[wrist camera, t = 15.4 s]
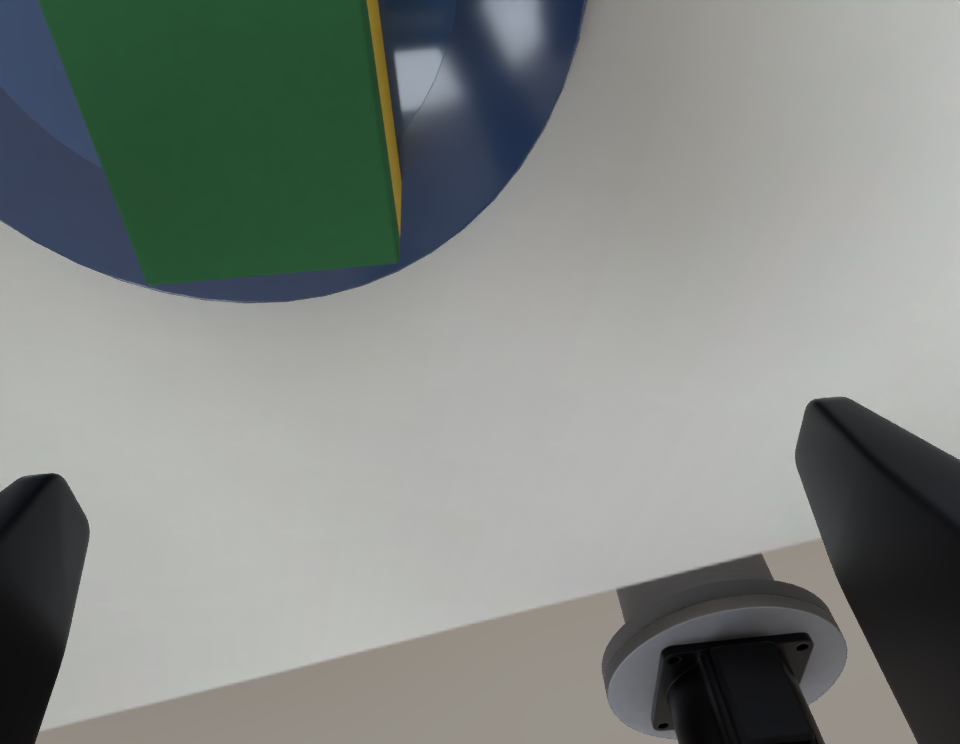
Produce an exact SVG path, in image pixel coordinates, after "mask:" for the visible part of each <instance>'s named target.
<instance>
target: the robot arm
mask: <svg viewBox="0 0 960 744" xmlns="http://www.w3.org/2000/svg"><path fill="white" fill-rule="evenodd" d="M795 460H796V466H797V470H798V473H799V475H800V478H801V481H802V484H803V487H804V489H805V492H806V495H807V498H808V501H809V503H810V506H811V509H812V512H813V515H814V517H815V520H816V523H817V526H818V529H819V531H820V534H821V537H822V540H823V542H824V545H825V548H826V551H827V554H828V556H829V559H830V562H831V564H832V567H833V569H834V572H835V575H836V577H837V579H838V581H839V584H840V586H841V588H842V590H843V592H844V595H845V597H846V599H847V601H848V603H849V605H850V607H851V609H852V611H853V613H854V615H855V617H856V619H857V621H858V623H859V625H860V627H861V629H862V631H863V633H864V635H865V637H866V639H867V641H868V643H869V645H870V647H871V649H872V651H873V653H874V655H875V658H876V659H877V661H878V663H879V666H880V668H881V670H882V672H883V674H884V676H885V678H886V680H887V682H888V684H889V686H890V688H891V690H892V692H893V694H894V696H895V698H896V700H897V702H898V704H899V706H900V708H901V710H902V712H903V714H904V716H905V718H906V720H907V722H908V724H909V726H910V728H911V730H912V732H913V734H914V737H915V738H916V741H917V742H918V744H960V460H959V459H957V458H955V457H953V456H951V455H950V454H948V453H946V452H944V451H942V450H941V449H939V448H937V447H935V446H933V445H932V444H930V443H928V442H926V441H925V440H923V439H921V438H919V437H917V436H916V435H914V434H912V433H910V432H908V431H907V430H905V429H903V428H901V427H899V426H898V425H896V424H894V423H892V422H890V421H889V420H887V419H885V418H883V417H882V416H880V415H878V414H876V413H874V412H873V411H871V410H869V409H867V408H865V407H864V406H862V405H860V404H858V403H856V402H855V401H853V400H851V399H849V398H846V397H831V398H821V399H814V400H812V401H810V402H809V403H808V405H807V407H806V409H805V413H804V417H803V421H802V425H801V429H800V433H799V437H798V441H797V445H796V450H795ZM89 533H90V530H89V524H88V520H87V518H86V516H85V514H84V512H83V510H82V509H81V507H80V505H79V503H78V501H77V500H76V498H75V496H74V494H73V493H72V491H71V489H70V487H69V485H68V484H67V482H66V480H65V479H64V478H63V477H62V476H60V475H59V474H54V473H49V474H39V475H29V476H24V477H21V478H19V479H17V480H16V481H14V482H13V483H12V484H10V485H9V486H8V487H6V488H5V489H4V490H2V491H1V492H0V744H35V741H36V738H37V735H38V732H39V729H40V726H41V723H42V720H43V717H44V714H45V711H46V708H47V705H48V702H49V699H50V696H51V693H52V690H53V687H54V684H55V681H56V678H57V675H58V672H59V669H60V666H61V662H62V659H63V656H64V652H65V648H66V644H67V640H68V636H69V631H70V627H71V622H72V617H73V612H74V608H75V603H76V598H77V594H78V589H79V584H80V580H81V575H82V570H83V566H84V561H85V556H86V552H87V547H88V542H89ZM813 647H814V643H813V641H812V639H811V637H810V635H809V634H808V633H805V632H799V633H789V634H779V635H769V636H760V637H750V638H740V639H730V640H721V641H711V642H701V643H691V644H682V645H673V646H668V647H666V648H664V649H663V650H662V651H661V653H660V660H659V666H658V673H657V680H656V687H655V693H654V700H653V707H652V713H651V722H652V726H653V729H654V730H656V731H669V730H675V732H676V736H677V739H678V743H679V744H825V743H824V740H823V738H822V736H821V734H820V731H819V729H818V727H817V725H816V722H815V720H814V718H813V715H812V714H811V711H810V709H809V706H808V704H807V702H806V700H805V697H804V695H803V693H802V691H801V688H800V686H799V685H800V682H801V680H802V677H803V674H804V671H805V669H806V666H807V663H808V661H809V658H810V655H811V652H812V650H813Z"/></svg>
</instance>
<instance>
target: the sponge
mask: <svg viewBox="0 0 960 744" xmlns="http://www.w3.org/2000/svg"><path fill="white" fill-rule="evenodd" d="M38 2H39V4H40V7H41V10H42V12H43V15H44V17H45V20H46V23H47V25H48V28H49V30H50V33H51V36H52V38H53V41H54V43H55V46H56V49H57V51H58V54H59V57H60V59H61V62H62V64H63V67H64V70H65V72H66V75H67V77H68V80H69V83H70V85H71V88H72V90H73V93H74V96H75V98H76V101H77V103H78V106H79V109H80V111H81V114H82V116H83V119H84V122H85V124H86V127H87V129H88V132H89V135H90V137H91V140H92V142H93V145H94V148H95V150H96V153H97V156H98V158H99V161H100V163H101V166H102V169H103V171H104V174H105V176H106V179H107V182H108V184H109V187H110V189H111V192H112V195H113V197H114V200H115V202H116V205H117V208H118V210H119V213H120V215H121V218H122V221H123V223H124V226H125V228H126V231H127V234H128V236H129V239H130V242H131V244H132V247H133V249H134V252H135V255H136V257H137V260H138V262H139V265H140V268H141V270H142V273H143V275H144V278H145V281H146V283H147V284H148V285H162V284H173V283H184V282H195V281H206V280H217V279H228V278H240V277H251V276H262V275H273V274H284V273H295V272H307V271H318V270H329V269H340V268H351V267H362V266H373V265H385V264H396V263H398V262H399V259H400V226H401V189H402V181H401V173H400V166H399V158H398V150H397V143H396V135H395V128H394V120H393V112H392V105H391V97H390V90H389V82H388V74H387V67H386V59H385V51H384V44H383V36H382V29H381V21H380V13H379V6H378V0H38Z"/></svg>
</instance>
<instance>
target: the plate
mask: <svg viewBox="0 0 960 744" xmlns="http://www.w3.org/2000/svg"><path fill="white" fill-rule="evenodd" d="M586 3H587V0H378V6H379V13H380V21H381V29H382V36H383V44H384V51H385V59H386V67H387V74H388V82H389V90H390V97H391V105H392V112H393V120H394V128H395V135H396V143H397V150H398V158H399V166H400V173H401V181H402V189H401V226H400V259H399V262H398V263H396V264H385V265H373V266H362V267H351V268H340V269H329V270H318V271H307V272H295V273H284V274H273V275H262V276H251V277H240V278H228V279H217V280H206V281H195V282H184V283H173V284H162V285H148V284H147V283H146V281H145V278H144V275H143V273H142V270H141V268H140V265H139V262H138V260H137V257H136V255H135V252H134V249H133V247H132V244H131V242H130V239H129V236H128V234H127V231H126V228H125V226H124V223H123V221H122V218H121V215H120V213H119V210H118V208H117V205H116V202H115V200H114V197H113V195H112V192H111V189H110V187H109V184H108V182H107V179H106V176H105V174H104V171H103V169H102V166H101V163H100V161H99V158H98V156H97V153H96V150H95V148H94V145H93V142H92V140H91V137H90V135H89V132H88V129H87V127H86V124H85V122H84V119H83V116H82V114H81V111H80V109H79V106H78V103H77V101H76V98H75V96H74V93H73V90H72V88H71V85H70V83H69V80H68V77H67V75H66V72H65V70H64V67H63V64H62V62H61V59H60V57H59V54H58V51H57V49H56V46H55V43H54V41H53V38H52V36H51V33H50V30H49V28H48V25H47V23H46V20H45V17H44V15H43V12H42V10H41V7H40V4H39V2H38V0H0V220H1V221H2V222H4V223H5V224H7V225H9V226H10V227H12V228H13V229H15V230H17V231H18V232H20V233H21V234H23V235H25V236H26V237H28V238H29V239H31V240H33V241H34V242H36V243H38V244H40V245H42V246H44V247H46V248H48V249H50V250H52V251H54V252H56V253H58V254H60V255H62V256H64V257H66V258H68V259H70V260H72V261H74V262H76V263H78V264H80V265H82V266H85V267H88V268H90V269H93V270H95V271H98V272H100V273H103V274H105V275H108V276H110V277H113V278H116V279H118V280H121V281H124V282H128V283H131V284H135V285H138V286H142V287H145V288H149V289H152V290H156V291H159V292H163V293H168V294H173V295H179V296H184V297H190V298H196V299H201V300H209V301H222V302H236V303H268V302H289V301H295V300H302V299H309V298H315V297H322V296H327V295H331V294H334V293H338V292H342V291H345V290H349V289H353V288H356V287H360V286H363V285H366V284H368V283H371V282H373V281H376V280H378V279H381V278H383V277H385V276H388V275H390V274H393V273H395V272H398V271H400V270H401V269H403V268H405V267H407V266H409V265H410V264H412V263H414V262H416V261H417V260H419V259H421V258H423V257H425V256H426V255H428V254H430V253H432V252H433V251H435V250H436V249H437V248H439V247H440V246H441V245H443V244H444V243H445V242H447V241H448V240H449V239H451V238H452V237H454V236H455V235H456V234H458V233H459V232H460V231H462V230H463V229H464V228H465V227H466V226H468V225H469V224H470V223H471V222H472V221H473V220H474V219H475V218H476V217H477V216H478V215H479V214H480V213H481V212H482V211H483V210H484V209H485V208H486V207H487V206H488V205H489V204H491V203H492V202H493V201H494V200H495V198H496V197H497V196H498V195H499V193H500V192H501V191H502V190H503V188H504V187H505V186H506V185H507V184H508V182H509V181H510V180H511V179H512V177H513V176H514V175H515V174H516V172H517V171H518V170H519V169H520V168H521V166H522V164H523V163H524V161H525V160H526V158H527V156H528V155H529V153H530V152H531V150H532V148H533V147H534V145H535V144H536V142H537V140H538V139H539V137H540V135H541V134H542V132H543V131H544V129H545V127H546V125H547V122H548V120H549V118H550V116H551V114H552V112H553V109H554V107H555V105H556V103H557V101H558V99H559V96H560V94H561V92H562V90H563V88H564V85H565V82H566V79H567V76H568V73H569V70H570V67H571V64H572V60H573V57H574V54H575V51H576V48H577V45H578V42H579V38H580V33H581V28H582V23H583V18H584V13H585V8H586Z"/></svg>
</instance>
